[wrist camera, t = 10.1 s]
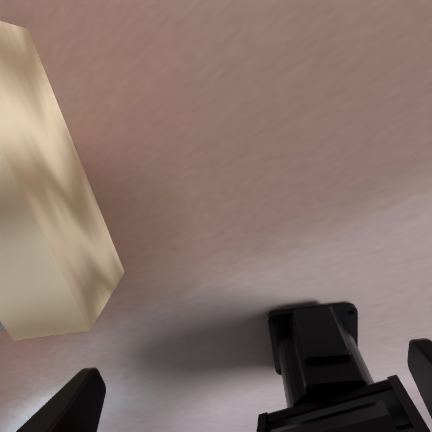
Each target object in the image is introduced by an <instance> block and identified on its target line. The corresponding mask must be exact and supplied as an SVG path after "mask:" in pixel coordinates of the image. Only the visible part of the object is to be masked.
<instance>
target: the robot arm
mask: <svg viewBox="0 0 432 432" xmlns="http://www.w3.org/2000/svg"><path fill="white" fill-rule="evenodd" d="M348 310H351V311H348ZM274 317H276V319H273V318H274ZM268 322H269V328H270V335H271V341H272V348H273V355H274V361H275V368H276V372H277V374H279V375H282V378H283V384H284V390H285V396H286V402H287V408H286V409H282V410H279V411H276V412H272V413H269V414H268V413H267V412H266V413H263V414H259V417H258V426H257V432H430V430H429V428H428V427H427V425H426V423H425V422H424V420H423V418H422V417H421V415H420V413H419V412H418V410H417V408H416V407H415V405H414V403H413V402H412V400H411V398H410V397H409V395H408V393H407V392H406V390H405V388H404V386H403V385H402V383H401V381H400V380H399V378H398V376H397V375H393V376H390V377H387V378H388V379H386V380H383V381H379V382H376V383H374V381H373V379H372V377H371V375H370V373H369V371H368V369H367V366H366V364H365V362H364V360H363V358H362V356H361V354H360V352H359V349H358V311H357V309H356V307H355V305H354V304H351V303H347V304H337V305H328V306H318V307H309V308H299V309H290V310H280V311H272V312H270V313H269V314H268ZM408 367H409V370H410V372H411V374H412V377H413V379H414V381H415V383H416V385H417V387H418V390H419V392H420V394H421V396H422V398H423V401H424V403H425V405H426V407H427V409H428V412H429V414H430V416H431V418H432V341H431V340H429V339H426V338H422V339H412V340H411V341H410V342H409V350H408ZM105 394H106V386H105V383H104V381H103V379H102V377H101V375H100V373H99V371H98V369H97V368H85V369H82V370H81V371H80V372H78V373H77V374H76V375H75V376H74V377H73V378H72V379H71V380H70V381H69V382H68V383H67V384H66V385H65V386H64V387H63V388H62V389H61V390H59V391H58V392H57V393H56V394H55V395H54V396H53V397H52V398H51V399H50V400H49V401H48V402H47V403H46V404H45V405H44V406H43V407H42V408H40V409H39V410H38V411H37V412H36V413H35V414H34V415H33V416H32V417H31V418H30V419H29V420H28V421H27V422H26V423H25V424H24V425H23V426H21V427H20V428H19V429H18V430H17V431H16V432H97V429H98V424H99V420H100V416H101V411H102V407H103V403H104V399H105Z"/></svg>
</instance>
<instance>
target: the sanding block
mask: <svg viewBox="0 0 432 432" xmlns="http://www.w3.org/2000/svg"><path fill="white" fill-rule="evenodd" d="M124 273H125V272H124V270H123V267H122V265H121V262H120V259H119V257H118V254H117V252H116V249H115V247H114V244H113V242H112V239H111V237H110V234H109V232H108V229H107V227H106V224H105V222H104V219H103V217H102V214H101V212H100V209H99V207H98V204H97V202H96V199H95V197H94V194H93V192H92V189H91V187H90V184H89V181H88V179H87V176H86V174H85V171H84V169H83V166H82V164H81V161H80V159H79V156H78V154H77V151H76V149H75V146H74V144H73V141H72V139H71V136H70V134H69V131H68V129H67V126H66V124H65V121H64V119H63V116H62V114H61V111H60V109H59V106H58V103H57V101H56V98H55V96H54V93H53V91H52V88H51V86H50V83H49V81H48V78H47V76H46V73H45V71H44V68H43V66H42V63H41V61H40V58H39V56H38V53H37V51H36V48H35V46H34V43H33V41H32V38H31V36H30V33H29V31H28V29H27V28H23V27H19V26H16V25H12V24H9V23H5V22H1V21H0V321H1V323H2V325H3V326H4V328H5V329H6V331H7V332H8V334H9V335H10V337H11V339H12V340H13V341H14V340H22V339H30V338H38V337H46V336H53V335H61V334H69V333H77V332H85V331H90V330H91V329H92V327H93V325H94V323H95V322H96V320H97V318H98V317H99V315H100V313H101V312H102V310H103V308H104V306H105V305H106V303H107V301H108V300H109V298H110V296H111V295H112V293H113V291H114V290H115V288H116V286H117V284H118V283H119V281H120V279H121V278H122V276H123V274H124Z"/></svg>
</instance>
